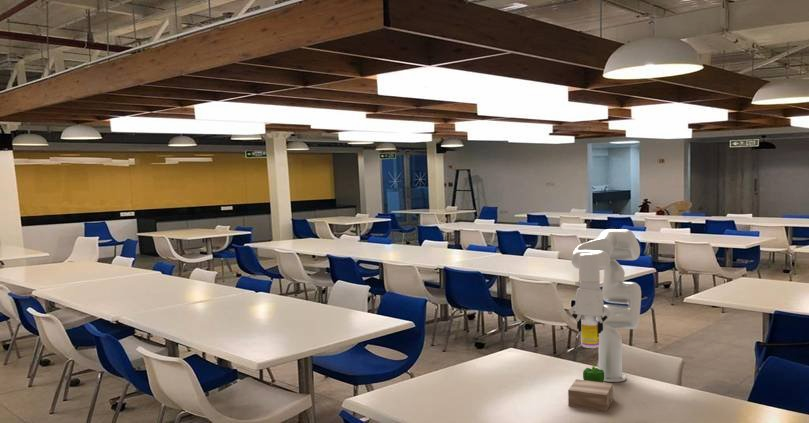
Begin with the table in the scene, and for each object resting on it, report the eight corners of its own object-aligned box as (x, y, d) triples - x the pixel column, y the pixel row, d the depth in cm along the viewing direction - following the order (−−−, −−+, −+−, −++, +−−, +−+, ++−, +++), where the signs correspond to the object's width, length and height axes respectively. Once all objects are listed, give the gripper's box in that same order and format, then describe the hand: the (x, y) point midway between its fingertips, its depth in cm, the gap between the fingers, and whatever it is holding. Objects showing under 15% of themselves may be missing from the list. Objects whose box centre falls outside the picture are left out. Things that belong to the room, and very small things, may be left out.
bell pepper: (587, 384, 258) (586, 360, 258) (606, 387, 253) (606, 363, 253) (580, 390, 251) (579, 365, 251) (600, 393, 247) (599, 368, 246)
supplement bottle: (600, 348, 232) (599, 315, 232) (582, 348, 234) (581, 314, 233) (598, 344, 239) (597, 311, 238) (580, 343, 240) (580, 311, 240)
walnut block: (576, 394, 247) (576, 379, 246) (612, 398, 240) (612, 383, 240) (568, 405, 234) (568, 390, 234) (606, 411, 228) (606, 395, 228)
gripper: (564, 285, 236) (564, 332, 237) (611, 288, 228) (612, 336, 229) (568, 282, 243) (569, 327, 243) (614, 284, 235) (615, 331, 235)
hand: (590, 331), depth 236 cm, fingers closed on supplement bottle, 6 cm apart
